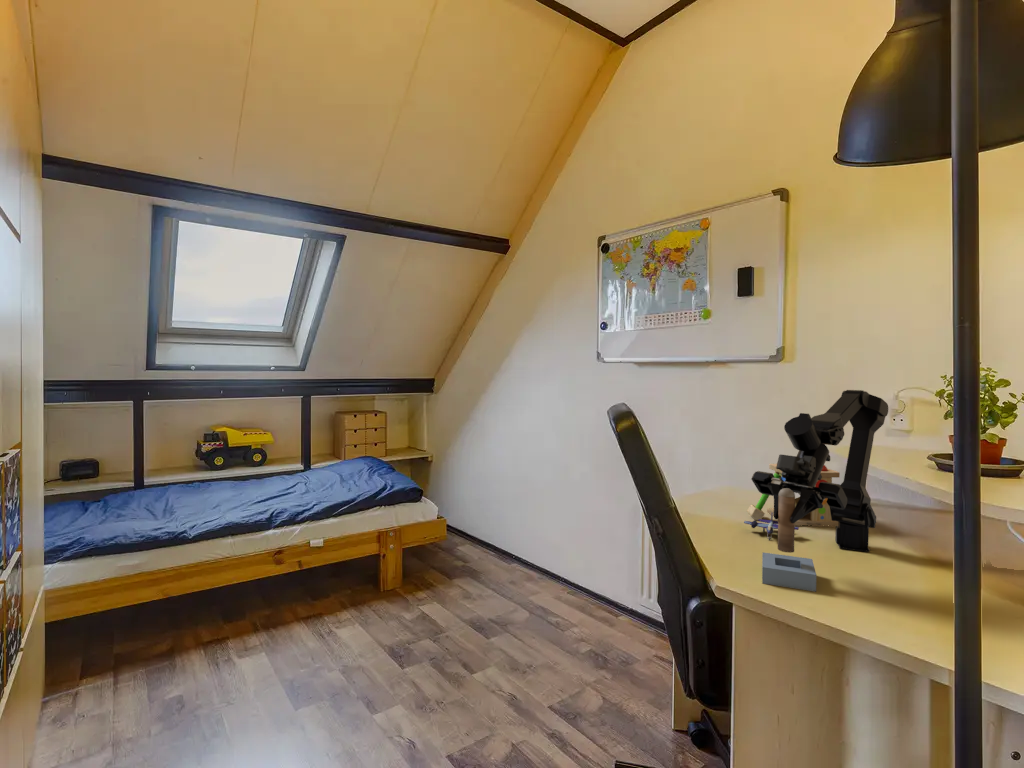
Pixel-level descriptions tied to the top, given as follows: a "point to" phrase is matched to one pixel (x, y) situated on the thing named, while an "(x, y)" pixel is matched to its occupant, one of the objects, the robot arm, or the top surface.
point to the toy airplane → (766, 525)
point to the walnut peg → (786, 520)
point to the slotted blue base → (788, 571)
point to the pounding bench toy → (813, 518)
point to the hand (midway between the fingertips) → (783, 520)
